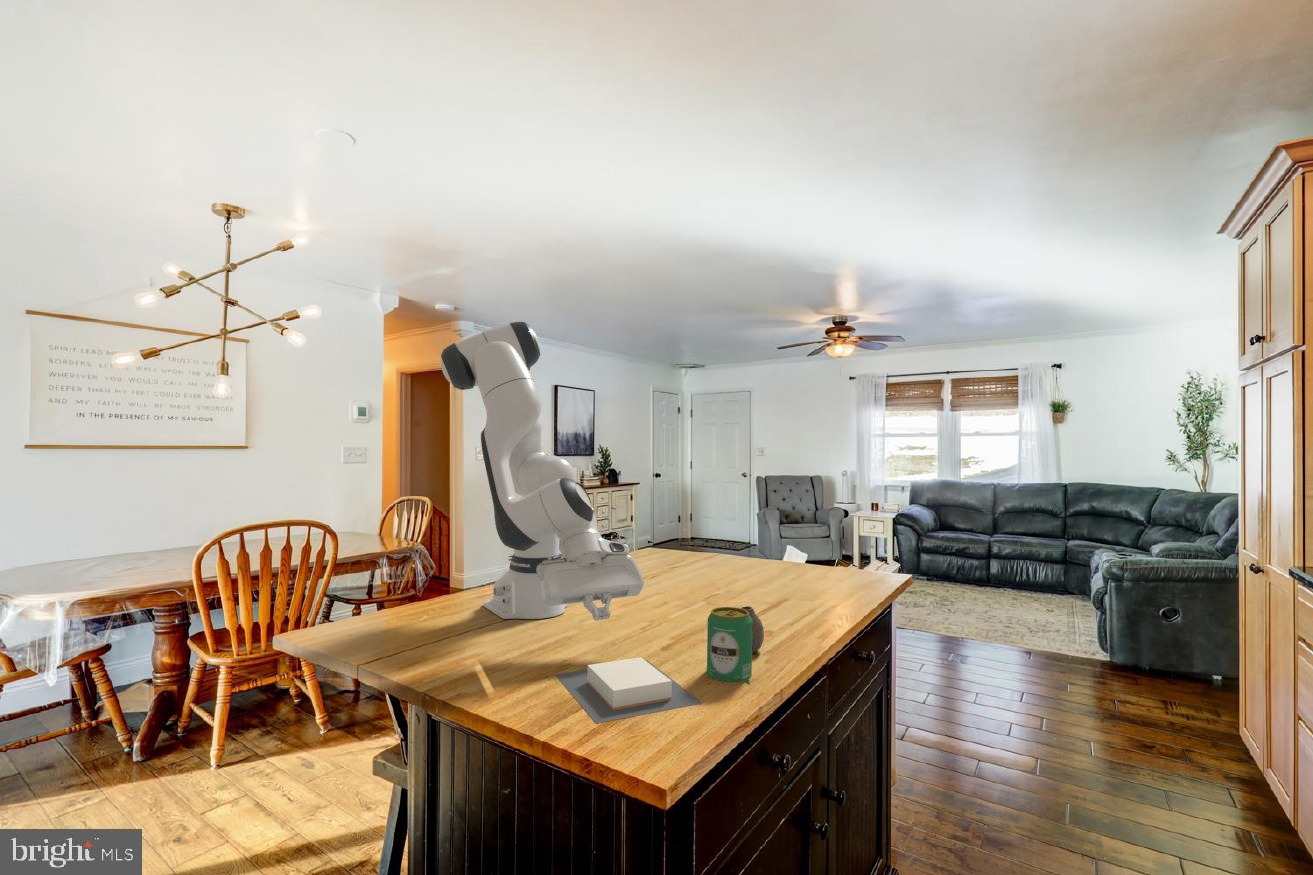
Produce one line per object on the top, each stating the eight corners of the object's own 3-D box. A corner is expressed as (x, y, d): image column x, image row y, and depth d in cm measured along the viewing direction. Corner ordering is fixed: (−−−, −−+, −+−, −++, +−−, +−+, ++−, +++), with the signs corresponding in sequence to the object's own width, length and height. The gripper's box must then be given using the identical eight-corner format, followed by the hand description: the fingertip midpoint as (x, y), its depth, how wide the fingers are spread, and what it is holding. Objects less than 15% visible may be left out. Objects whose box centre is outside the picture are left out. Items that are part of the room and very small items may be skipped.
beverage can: (700, 682, 109) (701, 614, 109) (714, 668, 116) (715, 604, 116) (744, 690, 105) (745, 620, 106) (756, 675, 113) (757, 609, 113)
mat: (554, 679, 109) (554, 674, 109) (647, 665, 116) (647, 660, 116) (595, 730, 90) (595, 723, 90) (702, 709, 98) (703, 702, 98)
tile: (587, 664, 105) (613, 690, 94) (640, 657, 109) (671, 680, 99) (587, 682, 105) (613, 710, 94) (640, 674, 109) (671, 699, 99)
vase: (722, 650, 126) (723, 607, 126) (742, 642, 131) (743, 601, 131) (751, 658, 121) (751, 614, 121) (770, 650, 126) (770, 607, 127)
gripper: (537, 551, 118) (552, 616, 109) (634, 544, 127) (655, 603, 118) (531, 570, 122) (545, 634, 113) (626, 562, 131) (645, 620, 122)
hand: (602, 618), depth 116 cm, fingers closed
